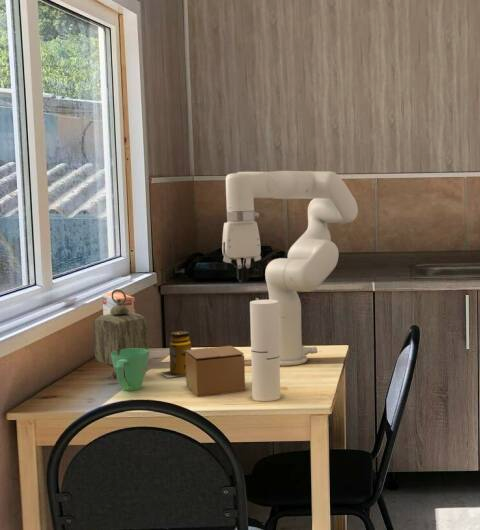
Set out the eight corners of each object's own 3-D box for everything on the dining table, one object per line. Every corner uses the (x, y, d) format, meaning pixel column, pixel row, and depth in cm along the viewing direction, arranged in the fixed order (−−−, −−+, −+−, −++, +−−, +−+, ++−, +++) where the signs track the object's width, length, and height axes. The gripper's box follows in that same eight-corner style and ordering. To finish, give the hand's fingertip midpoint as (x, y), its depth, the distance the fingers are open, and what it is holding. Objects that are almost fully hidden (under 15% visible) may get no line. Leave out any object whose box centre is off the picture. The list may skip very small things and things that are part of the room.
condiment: (196, 374, 255) (195, 333, 253) (167, 378, 250) (166, 336, 249) (187, 369, 261) (186, 329, 259) (159, 373, 256) (157, 332, 255)
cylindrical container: (253, 394, 232) (251, 299, 229) (281, 393, 232) (278, 299, 230) (251, 401, 225) (248, 304, 222) (279, 400, 225) (277, 303, 222)
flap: (231, 346, 245) (231, 345, 245) (243, 354, 235) (243, 353, 235) (209, 349, 242) (208, 348, 242) (220, 357, 232) (220, 356, 232)
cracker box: (138, 365, 266) (135, 296, 264) (117, 368, 263) (115, 298, 260) (123, 357, 278) (121, 291, 275) (104, 359, 274) (101, 293, 272)
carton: (232, 381, 246) (231, 345, 245) (245, 390, 236) (244, 353, 235) (186, 386, 240) (185, 350, 239) (197, 396, 230) (196, 358, 229)
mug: (118, 384, 244) (117, 348, 243) (154, 383, 244) (153, 347, 243) (101, 398, 229) (100, 360, 228) (140, 397, 229) (138, 359, 228)
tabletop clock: (149, 376, 252) (145, 289, 249) (121, 383, 245) (117, 293, 242) (120, 369, 261) (117, 285, 258) (93, 375, 254) (88, 289, 251)
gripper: (261, 215, 255) (264, 278, 258) (210, 217, 248) (213, 282, 251) (270, 216, 249) (272, 281, 251) (218, 219, 242) (221, 285, 244)
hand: (243, 281), depth 251 cm, fingers closed
